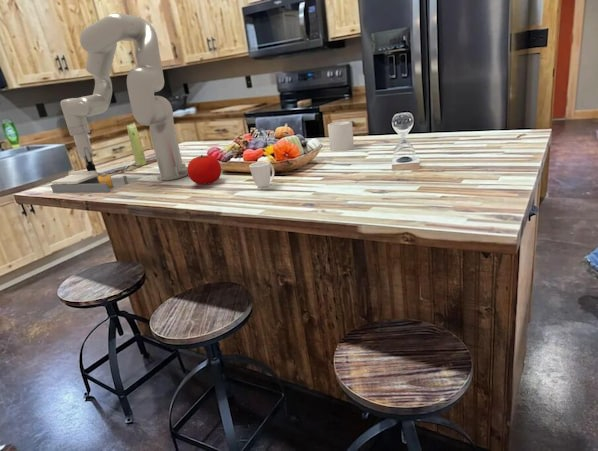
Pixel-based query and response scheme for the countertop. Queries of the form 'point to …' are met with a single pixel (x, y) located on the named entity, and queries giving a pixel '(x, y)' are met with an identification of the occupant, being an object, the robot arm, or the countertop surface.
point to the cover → (76, 177)
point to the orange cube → (105, 180)
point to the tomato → (204, 169)
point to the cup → (262, 174)
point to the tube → (136, 145)
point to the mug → (341, 136)
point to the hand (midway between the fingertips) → (92, 173)
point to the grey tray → (92, 185)
